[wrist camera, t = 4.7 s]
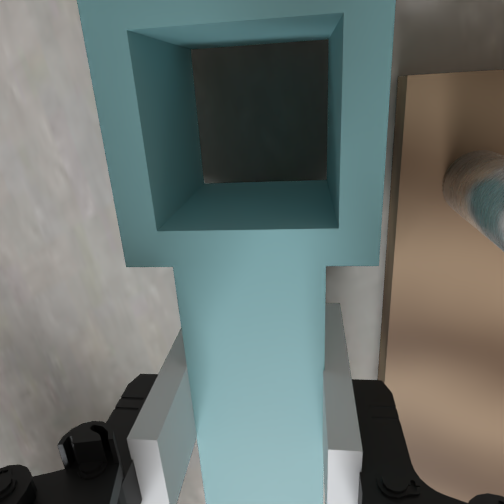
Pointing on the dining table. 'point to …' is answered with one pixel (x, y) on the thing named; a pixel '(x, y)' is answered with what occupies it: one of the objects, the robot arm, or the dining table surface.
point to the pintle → (478, 192)
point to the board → (444, 288)
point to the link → (244, 220)
